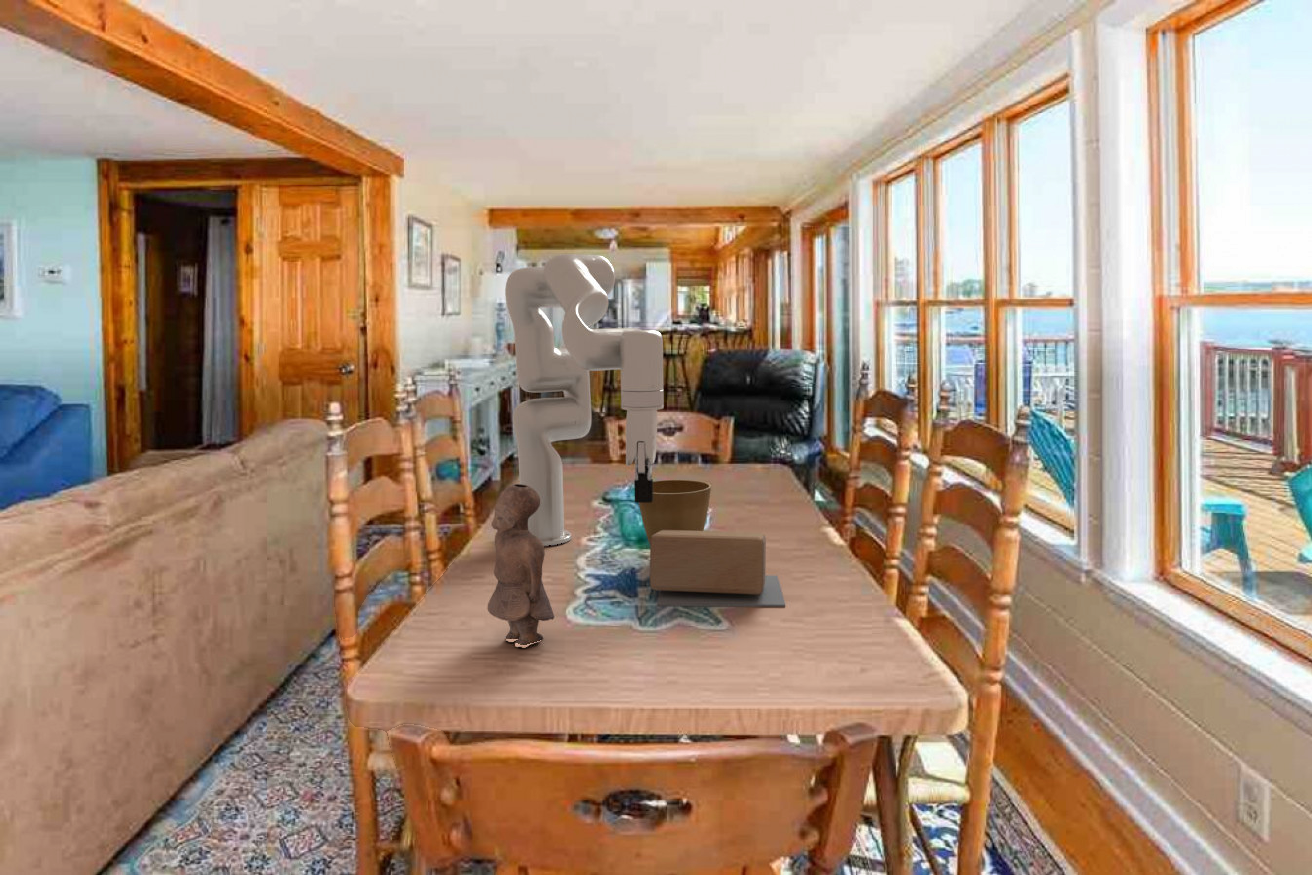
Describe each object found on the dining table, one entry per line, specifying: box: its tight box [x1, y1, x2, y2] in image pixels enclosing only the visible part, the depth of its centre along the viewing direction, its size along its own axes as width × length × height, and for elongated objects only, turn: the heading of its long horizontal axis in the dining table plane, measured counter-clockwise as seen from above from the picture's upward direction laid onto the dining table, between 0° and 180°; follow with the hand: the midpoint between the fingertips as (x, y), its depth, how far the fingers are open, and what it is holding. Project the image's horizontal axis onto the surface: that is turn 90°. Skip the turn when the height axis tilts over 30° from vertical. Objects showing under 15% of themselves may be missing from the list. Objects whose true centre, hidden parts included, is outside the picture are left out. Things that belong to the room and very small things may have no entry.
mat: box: [657, 574, 786, 608], centre depth 164 cm, size 22×17×1 cm
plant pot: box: [638, 479, 712, 545], centre depth 181 cm, size 15×15×16 cm
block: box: [649, 530, 767, 595], centre depth 162 cm, size 10×10×20 cm
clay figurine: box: [486, 483, 555, 645], centre depth 138 cm, size 13×10×25 cm
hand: (643, 501), depth 162 cm, fingers closed
